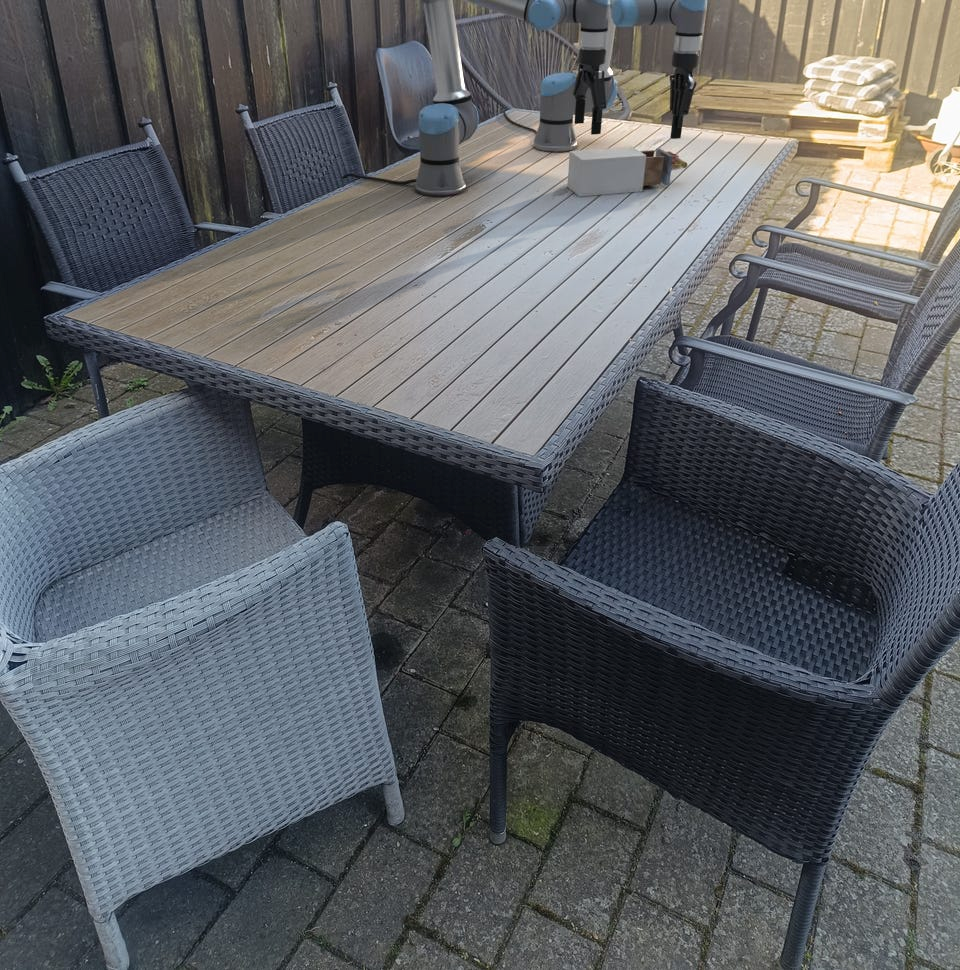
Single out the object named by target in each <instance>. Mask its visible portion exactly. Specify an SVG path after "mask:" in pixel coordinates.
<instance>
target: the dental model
mask: <svg viewBox="0 0 960 970" xmlns="http://www.w3.org/2000/svg"><path fill="white" fill-rule="evenodd" d="M666 152H667V153H669V154H670V155H672V156H673V160H674V159H675V158H679V159H681V158H680V156H679V154H677V153H674V152H672V151H666ZM673 164H676V163H674V162H672V165H673ZM678 168H681V166H679V167H678Z"/></svg>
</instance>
